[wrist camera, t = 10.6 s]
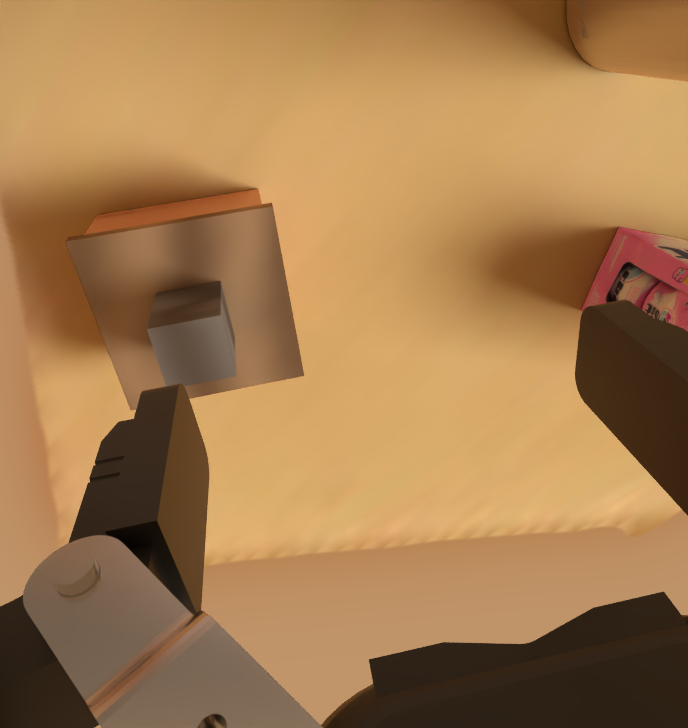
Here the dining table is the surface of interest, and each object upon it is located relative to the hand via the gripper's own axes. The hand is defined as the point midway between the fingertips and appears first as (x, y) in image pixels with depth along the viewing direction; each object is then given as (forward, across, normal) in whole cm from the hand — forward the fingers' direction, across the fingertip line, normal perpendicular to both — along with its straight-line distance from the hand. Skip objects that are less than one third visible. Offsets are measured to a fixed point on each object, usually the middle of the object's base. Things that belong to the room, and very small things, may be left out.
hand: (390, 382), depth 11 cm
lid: (+25, +8, +9) cm, 28 cm away
